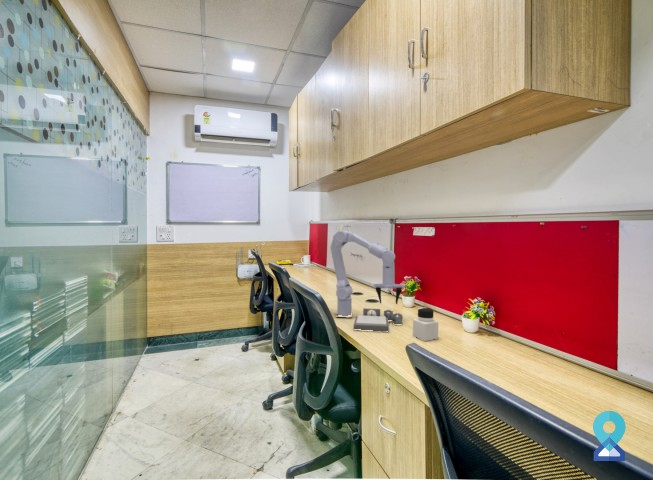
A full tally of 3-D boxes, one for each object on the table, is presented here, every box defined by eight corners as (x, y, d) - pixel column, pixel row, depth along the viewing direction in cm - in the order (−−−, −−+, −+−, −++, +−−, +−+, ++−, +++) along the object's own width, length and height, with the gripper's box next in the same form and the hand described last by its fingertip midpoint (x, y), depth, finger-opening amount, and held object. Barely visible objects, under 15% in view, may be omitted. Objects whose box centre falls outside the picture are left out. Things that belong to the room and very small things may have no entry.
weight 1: (383, 319, 156) (383, 309, 156) (392, 319, 156) (392, 309, 156) (383, 321, 152) (383, 311, 152) (393, 321, 151) (393, 311, 151)
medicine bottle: (438, 339, 126) (438, 309, 126) (424, 341, 123) (425, 311, 123) (425, 334, 133) (426, 305, 132) (412, 336, 130) (412, 307, 129)
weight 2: (392, 322, 150) (392, 312, 150) (401, 323, 149) (402, 312, 149) (392, 325, 145) (393, 314, 145) (402, 325, 145) (402, 315, 145)
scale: (356, 320, 154) (356, 308, 154) (387, 321, 151) (387, 309, 151) (353, 330, 137) (353, 317, 137) (388, 332, 135) (388, 318, 135)
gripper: (373, 276, 151) (373, 304, 151) (404, 276, 148) (404, 305, 149) (373, 274, 158) (373, 301, 158) (403, 274, 155) (403, 302, 155)
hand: (388, 303), depth 154 cm, fingers open, 7 cm apart
